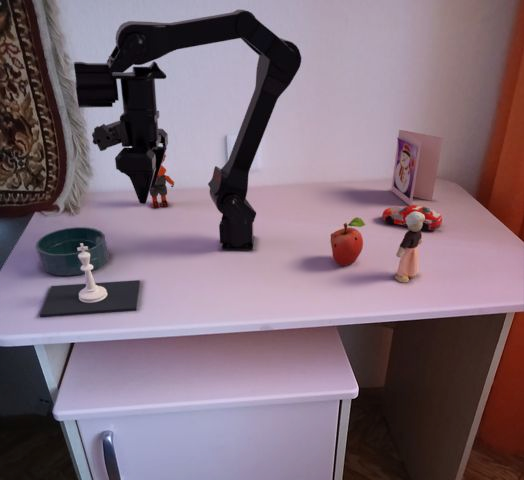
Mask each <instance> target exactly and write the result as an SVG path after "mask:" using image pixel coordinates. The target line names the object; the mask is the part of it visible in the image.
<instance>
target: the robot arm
mask: <svg viewBox="0 0 524 480" xmlns="http://www.w3.org/2000/svg"><path fill="white" fill-rule="evenodd" d="M238 39H241V41H243V43H244V44H246V45H247V46H248V47H249V48H250V49H251V50H252V51H253V52H254V53H256V55H258V60H257V63H256V70H255V71H256V72H255V87H254V90H253V93H252V96H251V98H250V101H249V104H248V106H247V109H246V112H245V114H244V117H243V121H242V123H241V125H240V128H239V131H238V134H237V136H236V138H235V141H234V144H233V147H232V150H231V152H230V155H229V158H228V160H227V162H226V163H225V164H224V165H223V166H222V167H219V166H217V165H215V166H214V168H213V174H212V177H211V179H210V180H209V182H208V183H207V185H208V187H209V196H210V198H211V201H212V202H213V204H214V205H215V207H216V209H217V210H218V212H219V213H220V214H222V215H221V220H220V222H219V225H218V228H219V229H218V230H219V231H218V232H219V243H220V244H221V250H222V251H253V250H254V246H255V238H256V237H255V235H254V222H255V219H256V216H257V212H256V210H255V209H254V207H253V206H252V205H251V203H250V202H249V201H248V200H247V195H248V189H249V174H250V171H251V168H252V166H253V163H254V160H255V157H256V155H257V153H258V150H259V148H260V145H261V142H262V140H263V137H264V135H265V132H266V130H267V127H268V124H269V122H270V119H271V117H272V114H273V112H274V109H275V107H276V104H277V101H278V100H279V98H280V97H281V95H282V94H283V93H284V92H285V91H286V90H287V89H288V87H289V86H291V83H292V82H293V80H294V79H295V76H296V75H297V73H298V71H299V70H300V68H301V64H302V55H301V51H300V49H299V47H298V45H297V44H295V43H294V42H292V41H289V40H287V39H284V38H282V37H279V36H278V35H277V34H276V33H274V32H273V31H272V30H270V28H268V27H267V26H265V24H264V23H262V22H261V21H260V20H258V18H257V17H256V16H255V15H254V13H253V12H250V11H249V10H246V9H236V10H234V11H231V12H227V13H221V14H220V13H219V14H215V15H209V16H204V17H203V16H202V17H197V18H196V17H195V18H190V19H185V20H179V21H173V22H158V21H157V22H156V21H139V20H137V21H135V20H130V21H125V22H123V23H122V24H121V25H119V27H118V29H117V31H116V32H115V47H114V49H112V51H111V54H110V55H108V58H107V60H106V63H105V62H104V63H103V62H84V61H74V63H73V66H74V67H73V68H74V69H73V70H74V76H75V92H76V99H77V105H78V108H79V109H80V108H83V109H84V108H85V109H87V108H89V109H90V108H113V107H114V105H113V104H116V102H117V101H118V102H119V101H120V100H119V99H120V98H119V90H118V80H120V89H121V99H122V109H123V113H122V114H120V116H119V120H116V121H114V122H111V123H108V124H105V123H103V124H101V125H99V126H98V125H97V126H95V127H94V129H93V132H92V133H91V137H92V143H93V144H94V145H96V146H97V148H98V149H99V151H100V152H103V151H106V150H107V149H109V148H111V147H114V146H117V145H119V144H121V147H123V148H122V149H121V150H120V151H119V152H118V154H117V155H116V156H115V158H114V162H115V163H114V164H115V170H117V171H119V172H120V173H121V174H124V175H126V176H127V177H128V178H129V180H130V182H131V184H132V187H133V189H134V192H135V195H136V198H137V200H138V202H139V204H142V205H145V204H146V203H147V201H148V197H149V195H150V187H154V186H155V183H156V180H157V177H158V174H159V171H160V168H161V165H162V164H163V163H162V161H163V158H164V155H166V152H167V149H168V145H169V140H168V139H169V137H168V133H167V132H166V131H165V129H163V128H159V123H158V121H159V118H160V110H158V107H157V106H158V105H157V94H156V92H157V91H156V80H165V79H166V78H167V74H166V73H165V72H164V71H163V70H162V69H161V68H160V67H159V65H158V63H157V62H156V61H155V60H158V59H160V58H162V57H164V56H166V55H168V54H170V53H173V52H174V51H177V50H181V49H188V48H193V47H199V46H205V45H210V44H216V43H220V42H227V41H232V40H233V41H234V40H238ZM151 62H152V63H151ZM148 63H151V64H150V65H149V66H142V65H145V64H148ZM131 67H132V71H129V72H128V71H127V70H129V69H130V68H131ZM126 71H127V72H126ZM160 144H162V146H160ZM163 162H164V161H163ZM162 166H163V165H162Z"/></svg>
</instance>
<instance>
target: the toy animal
mask: <svg viewBox="0 0 524 480" xmlns="http://www.w3.org/2000/svg"><path fill="white" fill-rule="evenodd" d="M166 158H167V155H166V154H165V155H164V158H163V161H162V164H164V162H165V161H166ZM166 172H167V169H166V167H164V166H163V165H161V168H160V171H159V174H158V177H157V180H156V183H155V186H154V187H150V191H149V195H150V196H151V199H152V203H151V208H153V209H159V208H160V207H163V208H168V207H169V206H170V204H169V202H168V201H167V195H168V187H167V185H166V184H167V183H168V184H169V185H170V187H171V188H174V185H175V181H174V180H172V178H171V177H170V175H166ZM159 195H160V199H161V202H160V203H159V201H158V196H159Z"/></svg>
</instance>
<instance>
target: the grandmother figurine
mask: <svg viewBox="0 0 524 480" xmlns="http://www.w3.org/2000/svg"><path fill="white" fill-rule="evenodd" d="M424 219H425V216H424V214H422V213H420V212H417V211H414V212H412V213H410V214H409V215H407V217H406V218H405V220H406V224H407V225H408V226H407V229H408V230H407V231H406V232H405V233H404V236H403V239H402V240H401V243H400V244H399V247H398V249H397V252H396V254H395V256H396V257H397V258H400V260H399V262H398V267H397V271H396V273H397V274H396V275H395V276H394V278H395V279H396V280H397V281H398V282H399V283H404V284H405V283H408V282H409V281H410V279H412V278H415V277H416V276H417V275H418V270H419V245H421V244H422V243H423V240H422V238H423V236H422V235H423V234H422V230H421V228H422V225H423V221H424Z"/></svg>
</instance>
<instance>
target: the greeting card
mask: <svg viewBox="0 0 524 480" xmlns="http://www.w3.org/2000/svg"><path fill="white" fill-rule="evenodd" d="M396 138H397V144H396V152H395V157H394V165H393V172H392V180H391V188H390V191H391V192H392V193H394V194H395V195H396V196H397V197H399V198H400V199H401V200H402V201H404V202H405V203H406V204H407V205H408V206H411V205H413V200H414V197H415V198H418V199H422V200H426V201H430V202H432V201H433V197H434V191H435V186H436V185H435V184H436V179H437V175H438V170H439V163H440V159H441V153H442V146H443V141H444V137H442V136H436V135H432V134H426V133H420V132H415V131H410V130H409V131H408V130H404V129H398V136H397V137H396Z"/></svg>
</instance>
